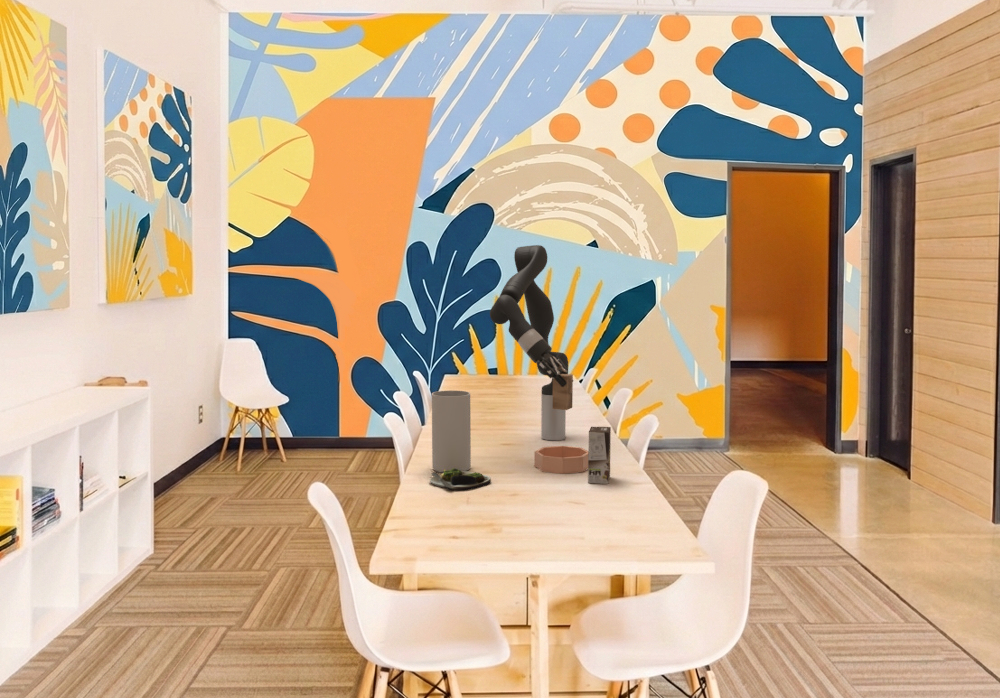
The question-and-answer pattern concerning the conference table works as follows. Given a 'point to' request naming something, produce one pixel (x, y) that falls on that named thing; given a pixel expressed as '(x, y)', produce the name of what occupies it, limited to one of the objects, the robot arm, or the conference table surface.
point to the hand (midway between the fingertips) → (568, 383)
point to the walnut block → (563, 393)
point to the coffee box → (599, 455)
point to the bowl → (561, 459)
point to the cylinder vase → (451, 430)
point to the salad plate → (459, 480)
